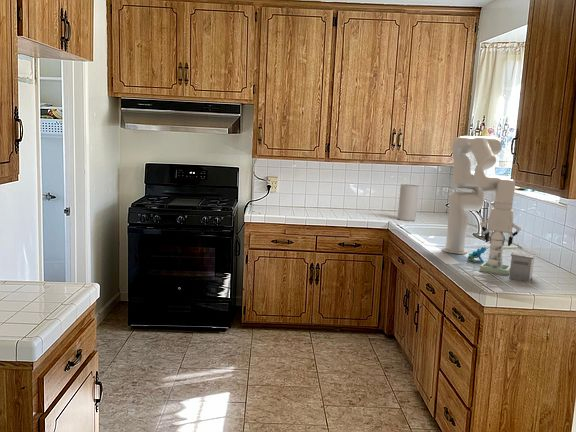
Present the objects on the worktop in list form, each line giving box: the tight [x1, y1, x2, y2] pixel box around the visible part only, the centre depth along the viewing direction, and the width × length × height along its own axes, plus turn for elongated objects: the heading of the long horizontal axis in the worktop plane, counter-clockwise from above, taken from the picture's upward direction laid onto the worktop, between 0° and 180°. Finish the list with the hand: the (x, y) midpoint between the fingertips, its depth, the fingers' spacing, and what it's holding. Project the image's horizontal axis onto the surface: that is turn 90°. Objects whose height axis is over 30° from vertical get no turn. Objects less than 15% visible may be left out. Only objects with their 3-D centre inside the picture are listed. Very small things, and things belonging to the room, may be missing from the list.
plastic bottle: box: [486, 231, 506, 269], centre depth 252 cm, size 6×7×20 cm
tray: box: [479, 261, 511, 276], centre depth 253 cm, size 12×12×2 cm
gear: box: [467, 246, 487, 263], centre depth 271 cm, size 11×6×10 cm
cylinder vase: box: [397, 183, 420, 222], centre depth 399 cm, size 12×12×25 cm
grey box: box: [508, 250, 537, 283], centre depth 242 cm, size 11×9×11 cm
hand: (497, 243), depth 252 cm, fingers open, 9 cm apart
